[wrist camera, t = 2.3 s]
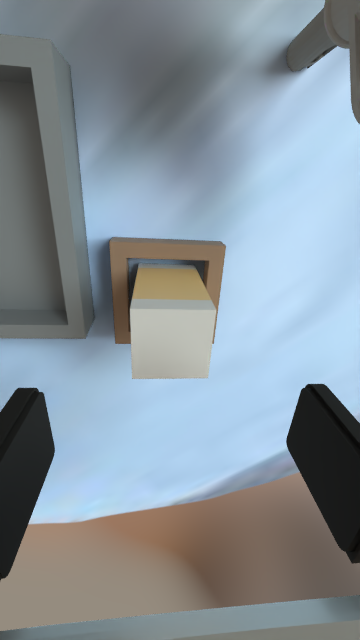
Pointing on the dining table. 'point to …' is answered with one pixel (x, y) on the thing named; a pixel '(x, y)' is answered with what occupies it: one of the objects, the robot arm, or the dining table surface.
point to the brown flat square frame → (159, 250)
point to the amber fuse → (170, 323)
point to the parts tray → (40, 197)
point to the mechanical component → (331, 41)
